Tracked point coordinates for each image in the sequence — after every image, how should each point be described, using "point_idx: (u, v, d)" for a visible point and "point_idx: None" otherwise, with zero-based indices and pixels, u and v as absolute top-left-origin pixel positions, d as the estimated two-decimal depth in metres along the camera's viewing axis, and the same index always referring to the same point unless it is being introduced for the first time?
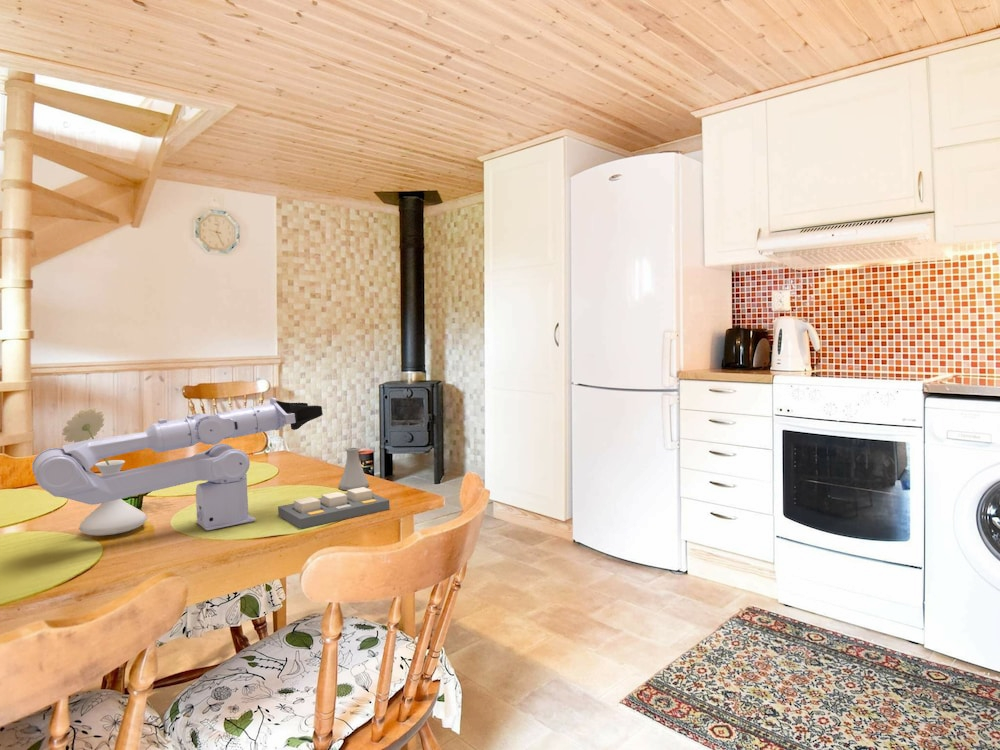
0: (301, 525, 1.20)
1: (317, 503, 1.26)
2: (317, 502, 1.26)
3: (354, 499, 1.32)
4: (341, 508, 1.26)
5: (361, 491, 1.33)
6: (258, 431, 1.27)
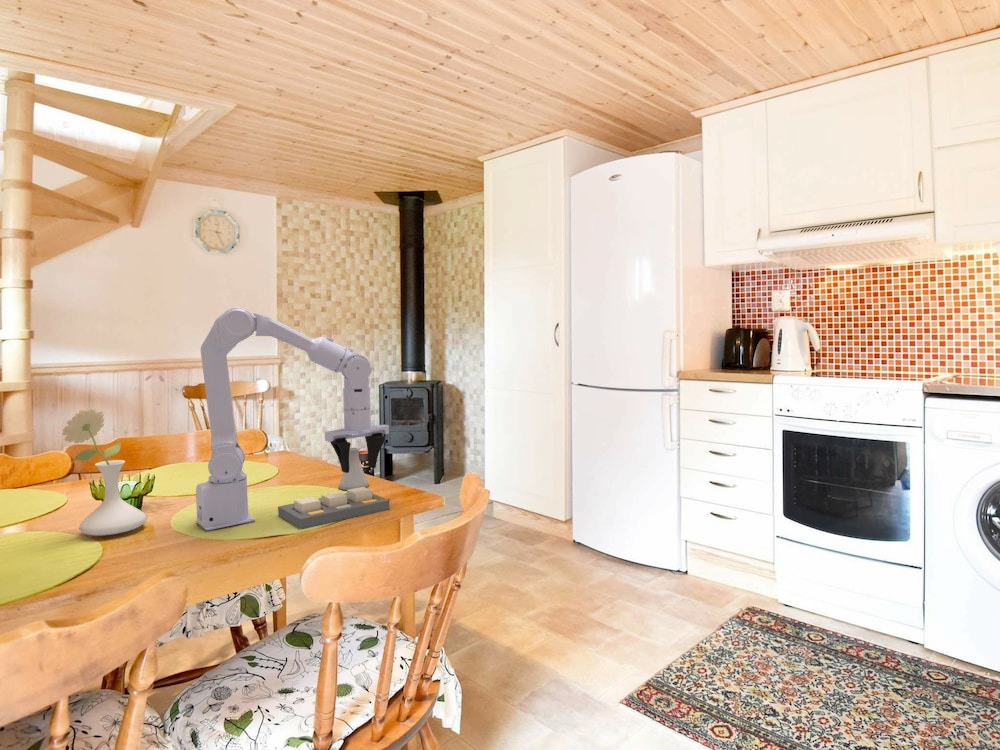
0: (301, 525, 1.20)
1: (317, 503, 1.26)
2: (317, 502, 1.26)
3: (354, 499, 1.32)
4: (341, 508, 1.26)
5: (361, 491, 1.33)
6: None
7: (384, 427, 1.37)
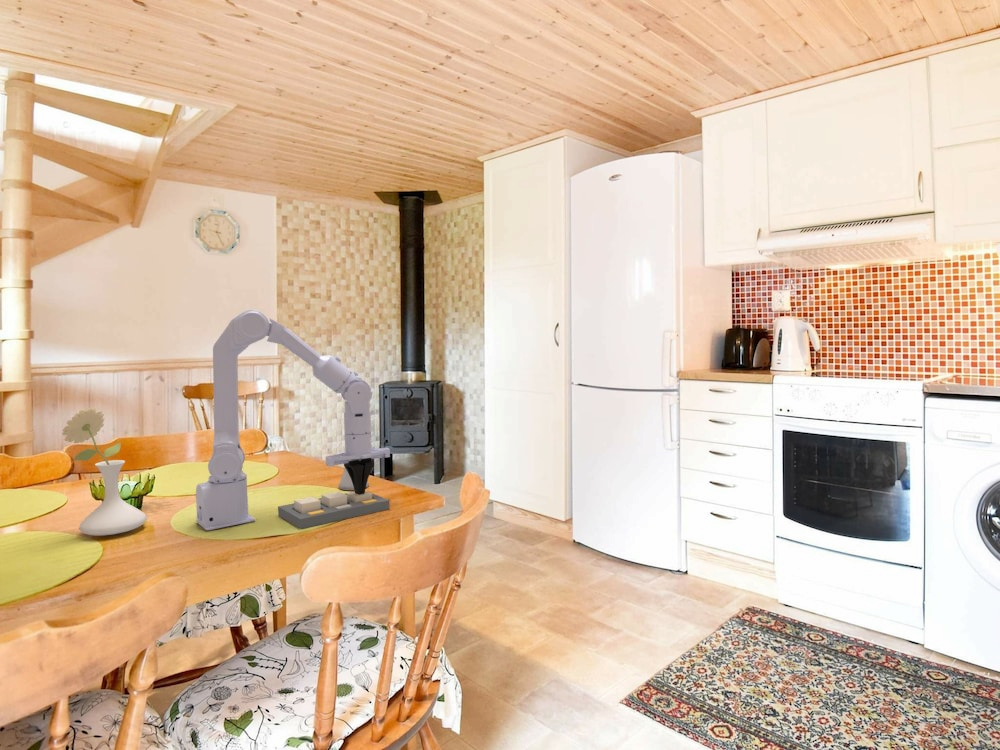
0: (301, 525, 1.20)
1: (317, 503, 1.26)
2: (317, 502, 1.26)
3: None
4: (341, 508, 1.26)
5: (361, 494, 1.33)
6: None
7: (385, 450, 1.37)
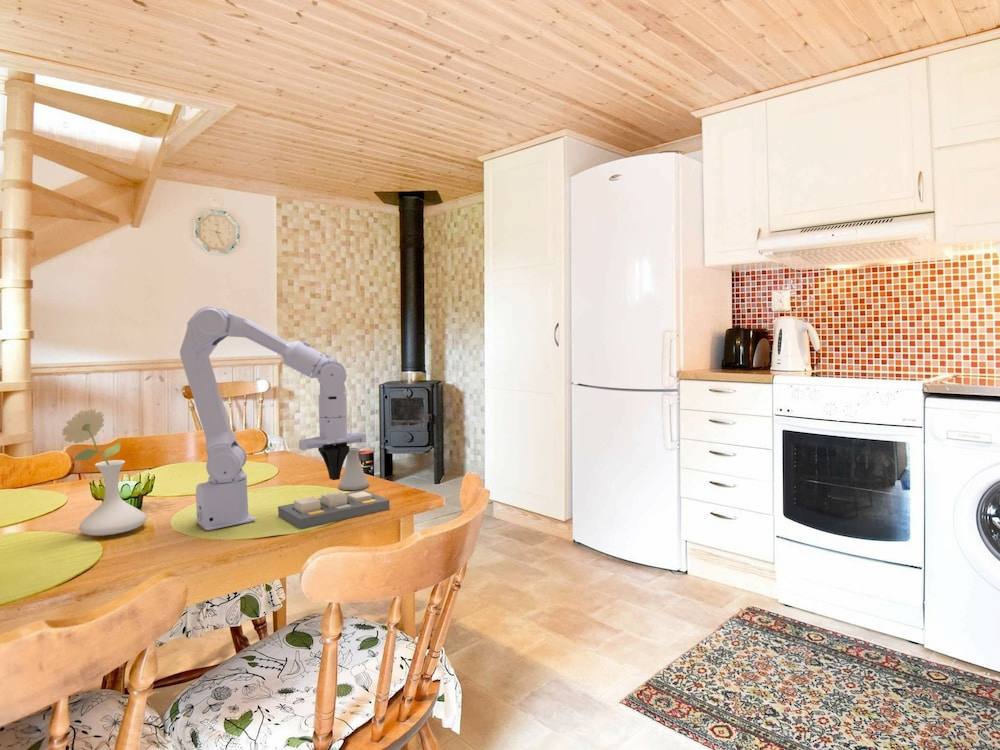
0: (301, 525, 1.20)
1: (317, 503, 1.26)
2: (317, 502, 1.26)
3: None
4: (341, 508, 1.26)
5: (361, 496, 1.33)
6: None
7: (361, 435, 1.33)
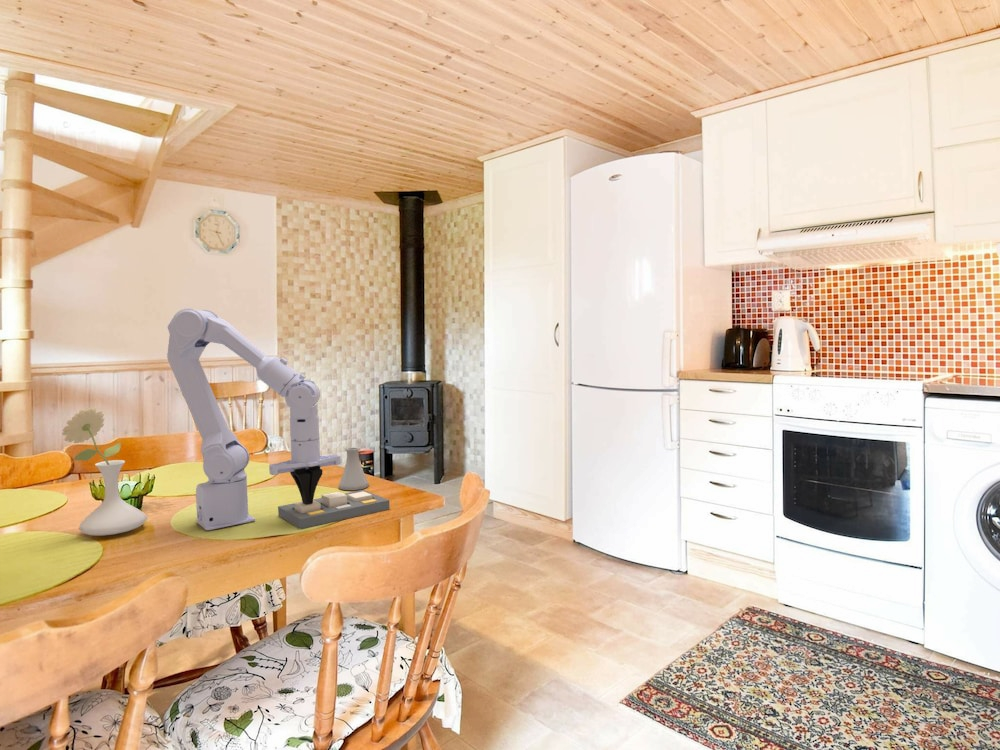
0: (301, 525, 1.20)
1: (317, 506, 1.26)
2: (317, 505, 1.26)
3: None
4: (341, 508, 1.26)
5: (361, 496, 1.33)
6: None
7: (335, 458, 1.29)
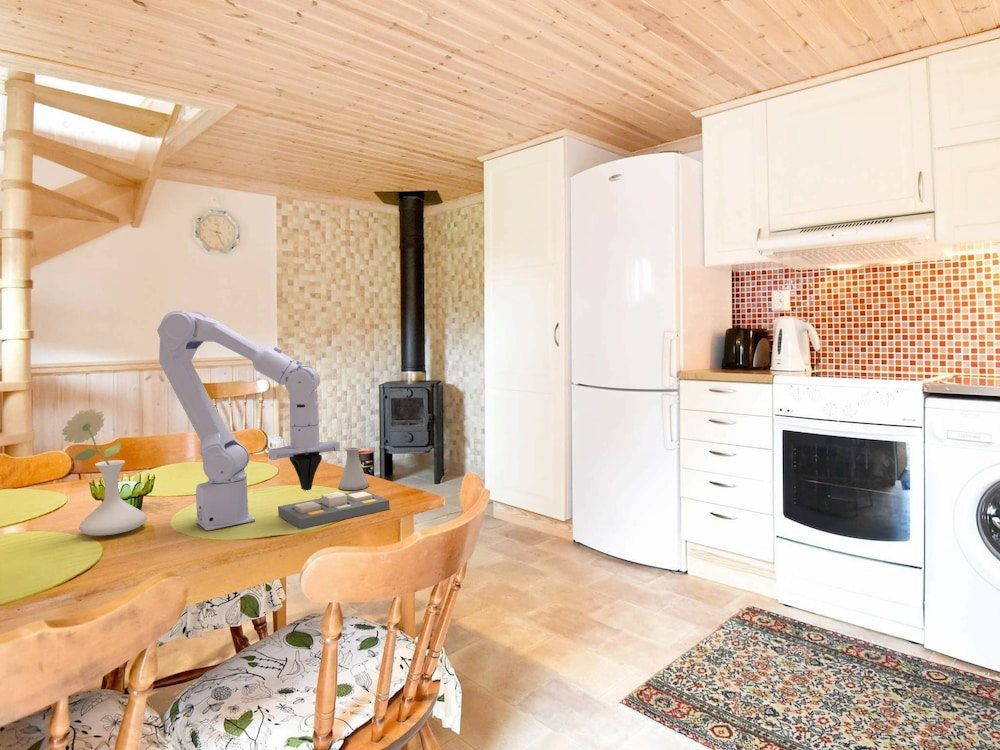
0: (301, 525, 1.20)
1: (318, 508, 1.26)
2: (317, 507, 1.26)
3: None
4: (341, 508, 1.26)
5: (361, 496, 1.33)
6: None
7: (334, 444, 1.29)
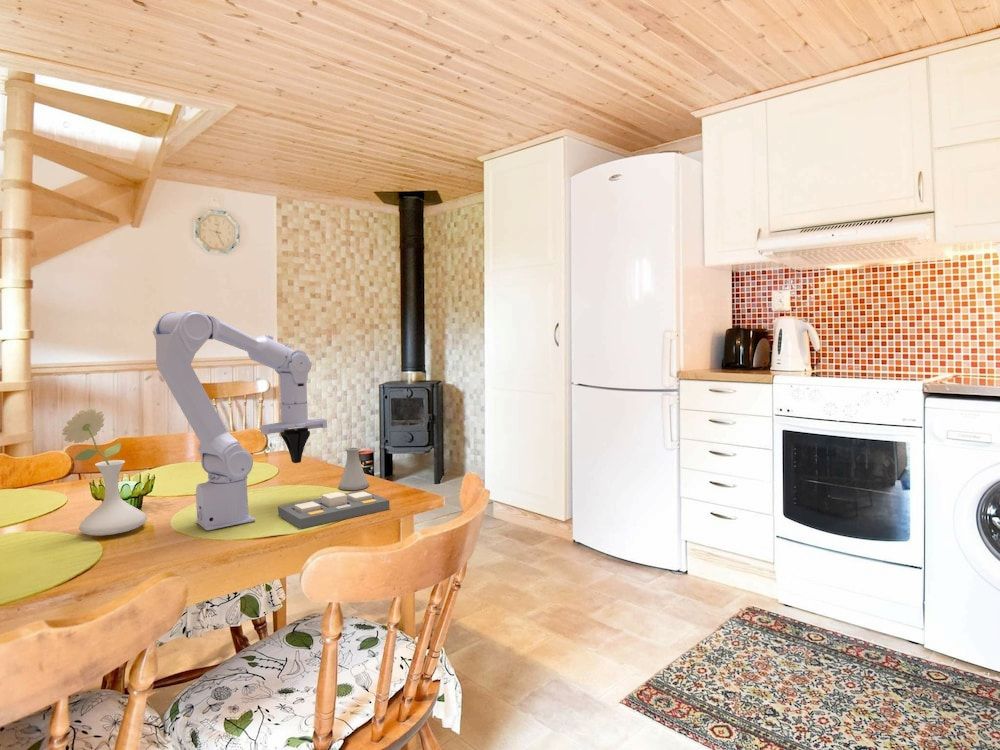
0: (301, 525, 1.20)
1: (318, 508, 1.26)
2: (317, 507, 1.26)
3: None
4: (341, 508, 1.26)
5: (361, 496, 1.33)
6: None
7: (322, 421, 1.41)
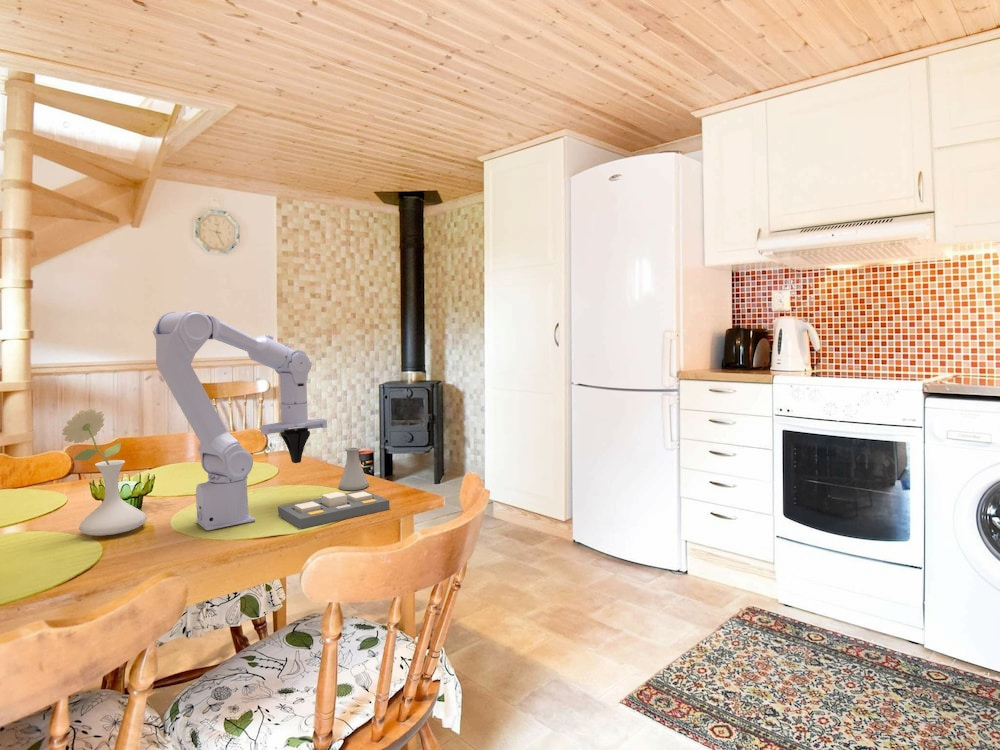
0: (301, 525, 1.20)
1: (318, 508, 1.26)
2: (317, 507, 1.26)
3: None
4: (341, 508, 1.26)
5: (361, 496, 1.33)
6: None
7: (322, 421, 1.41)
